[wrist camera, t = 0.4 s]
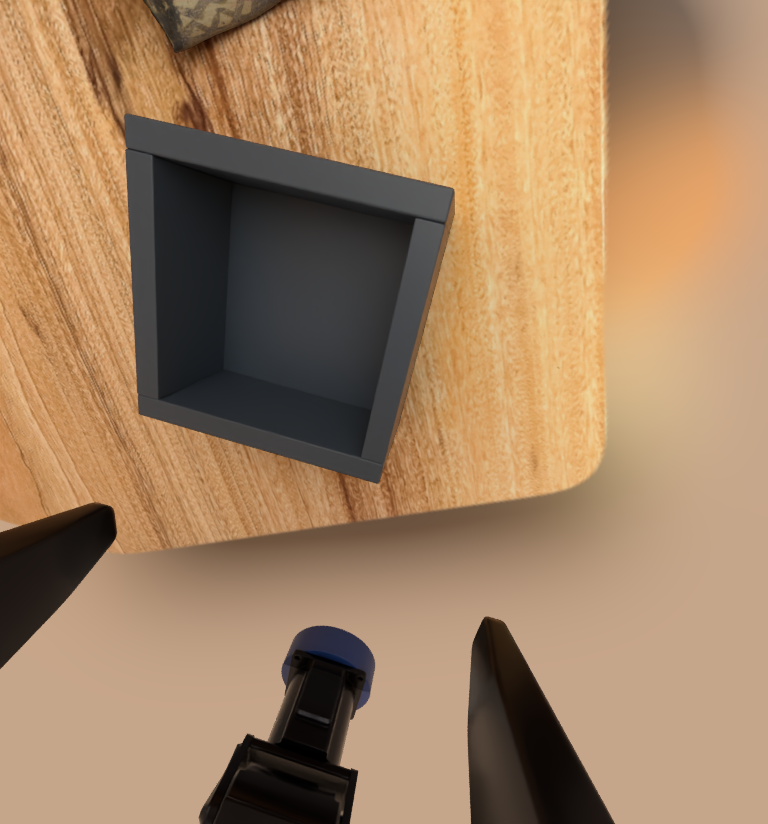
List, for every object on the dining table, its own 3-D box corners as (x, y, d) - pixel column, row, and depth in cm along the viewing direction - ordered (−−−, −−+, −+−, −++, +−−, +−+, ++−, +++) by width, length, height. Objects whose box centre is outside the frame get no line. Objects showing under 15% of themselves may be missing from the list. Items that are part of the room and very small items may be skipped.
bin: (398, 426, 21) (378, 484, 16) (216, 376, 22) (137, 414, 17) (455, 211, 17) (455, 188, 11) (225, 157, 18) (122, 111, 12)
